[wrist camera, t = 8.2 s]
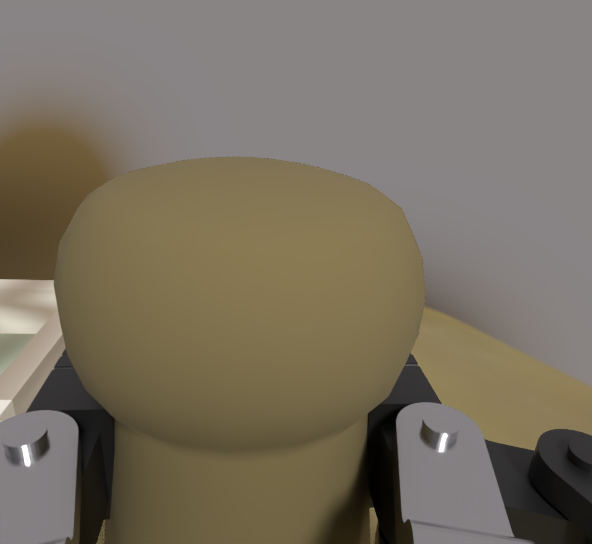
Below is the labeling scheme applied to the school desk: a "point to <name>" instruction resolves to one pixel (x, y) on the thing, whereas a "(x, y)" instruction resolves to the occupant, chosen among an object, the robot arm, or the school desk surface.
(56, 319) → the white divided tray
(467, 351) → the school desk surface
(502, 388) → the school desk surface
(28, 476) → the robot arm
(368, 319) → the cork
